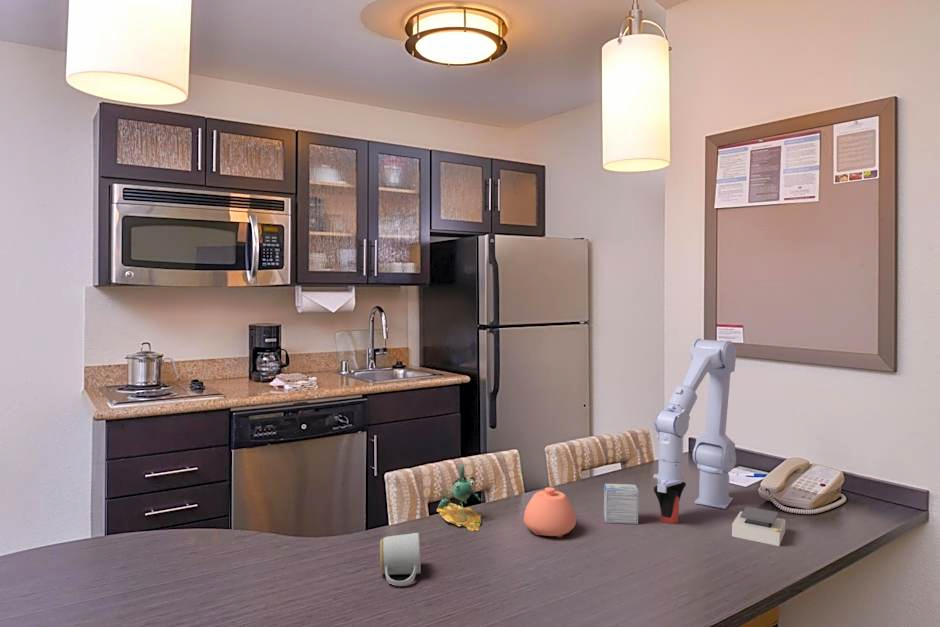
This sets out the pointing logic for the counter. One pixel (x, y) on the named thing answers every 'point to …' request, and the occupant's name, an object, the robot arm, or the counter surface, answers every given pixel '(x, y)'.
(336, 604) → the counter surface
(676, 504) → the cap
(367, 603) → the counter surface
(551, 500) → the sugar bowl
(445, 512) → the frog figurine
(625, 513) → the medicine box
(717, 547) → the counter surface
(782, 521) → the box
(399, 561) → the ceramic mug
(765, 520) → the switch
